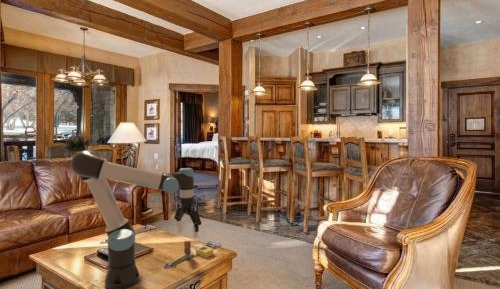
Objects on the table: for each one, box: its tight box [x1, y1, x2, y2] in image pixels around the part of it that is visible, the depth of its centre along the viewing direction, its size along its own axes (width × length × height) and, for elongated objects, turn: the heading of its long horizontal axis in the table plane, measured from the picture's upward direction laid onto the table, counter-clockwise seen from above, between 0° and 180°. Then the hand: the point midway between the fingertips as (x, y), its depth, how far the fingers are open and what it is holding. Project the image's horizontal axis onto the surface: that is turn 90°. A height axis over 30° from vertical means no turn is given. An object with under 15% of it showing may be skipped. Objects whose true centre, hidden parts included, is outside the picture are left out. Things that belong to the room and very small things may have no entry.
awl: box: [183, 240, 192, 260], centre depth 169 cm, size 3×3×10 cm
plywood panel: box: [180, 243, 220, 259], centre depth 179 cm, size 14×18×1 cm
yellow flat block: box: [196, 245, 215, 259], centre depth 174 cm, size 6×8×3 cm
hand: (187, 234), depth 169 cm, fingers open, 13 cm apart
